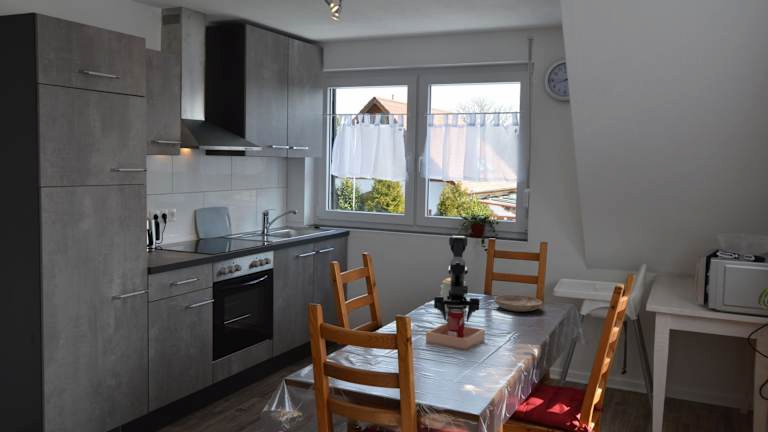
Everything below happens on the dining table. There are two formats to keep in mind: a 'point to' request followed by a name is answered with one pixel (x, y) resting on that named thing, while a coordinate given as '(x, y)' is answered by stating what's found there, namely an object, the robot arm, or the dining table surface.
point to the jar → (445, 291)
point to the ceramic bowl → (518, 303)
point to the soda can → (456, 323)
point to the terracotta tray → (442, 339)
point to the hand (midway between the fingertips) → (456, 320)
